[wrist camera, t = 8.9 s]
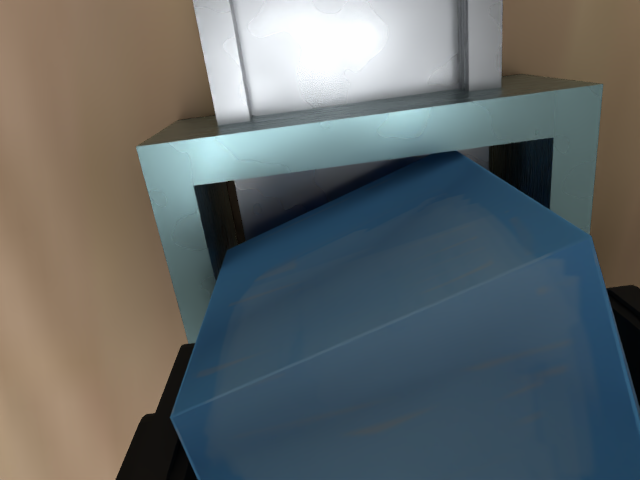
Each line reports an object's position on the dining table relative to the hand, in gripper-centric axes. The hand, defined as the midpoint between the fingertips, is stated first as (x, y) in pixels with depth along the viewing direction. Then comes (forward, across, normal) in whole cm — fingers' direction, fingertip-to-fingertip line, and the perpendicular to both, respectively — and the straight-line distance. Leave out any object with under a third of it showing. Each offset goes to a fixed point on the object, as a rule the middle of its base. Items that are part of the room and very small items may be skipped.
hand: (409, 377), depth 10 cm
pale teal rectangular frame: (+6, 0, 0) cm, 6 cm away
